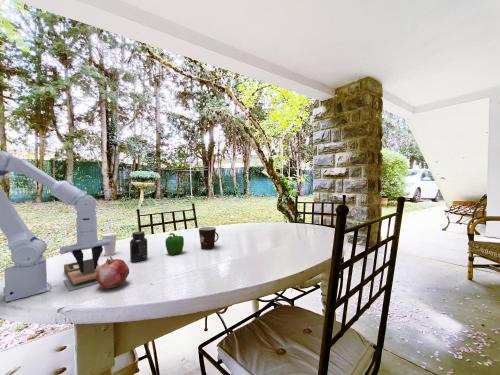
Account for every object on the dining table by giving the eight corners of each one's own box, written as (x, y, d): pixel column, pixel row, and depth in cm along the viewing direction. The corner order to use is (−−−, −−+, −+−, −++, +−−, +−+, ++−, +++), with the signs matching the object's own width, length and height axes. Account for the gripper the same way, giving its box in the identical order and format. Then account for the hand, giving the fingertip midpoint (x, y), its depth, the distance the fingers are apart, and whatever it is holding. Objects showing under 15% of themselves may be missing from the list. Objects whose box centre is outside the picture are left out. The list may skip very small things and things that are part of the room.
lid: (73, 284, 72) (73, 268, 72) (67, 275, 79) (67, 261, 78) (108, 274, 79) (107, 260, 79) (100, 267, 86) (100, 254, 85)
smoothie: (110, 257, 104) (109, 226, 104) (98, 256, 105) (97, 226, 105) (121, 252, 110) (120, 223, 110) (109, 252, 111) (108, 223, 111)
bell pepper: (181, 249, 114) (180, 229, 113) (186, 254, 107) (185, 232, 106) (163, 252, 109) (163, 231, 109) (167, 257, 102) (167, 235, 102)
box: (68, 279, 80) (68, 270, 80) (64, 272, 86) (63, 264, 86) (98, 271, 86) (98, 263, 86) (92, 266, 93) (92, 258, 92)
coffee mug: (197, 247, 118) (196, 227, 118) (213, 244, 122) (213, 226, 122) (202, 253, 108) (202, 231, 107) (220, 250, 111) (219, 230, 111)
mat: (69, 291, 70) (69, 290, 70) (63, 281, 78) (63, 280, 78) (113, 279, 79) (113, 278, 79) (103, 271, 87) (103, 270, 87)
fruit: (126, 277, 81) (126, 249, 81) (131, 286, 73) (131, 255, 73) (95, 284, 75) (94, 254, 75) (97, 295, 68) (96, 262, 67)
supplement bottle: (126, 261, 98) (126, 233, 97) (140, 256, 104) (140, 230, 103) (137, 263, 94) (136, 234, 94) (151, 258, 100) (150, 231, 100)
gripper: (107, 226, 86) (108, 261, 87) (57, 232, 76) (59, 273, 76) (113, 228, 81) (114, 266, 82) (61, 235, 71) (62, 279, 71)
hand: (88, 270), depth 79 cm, fingers closed on lid, 3 cm apart
